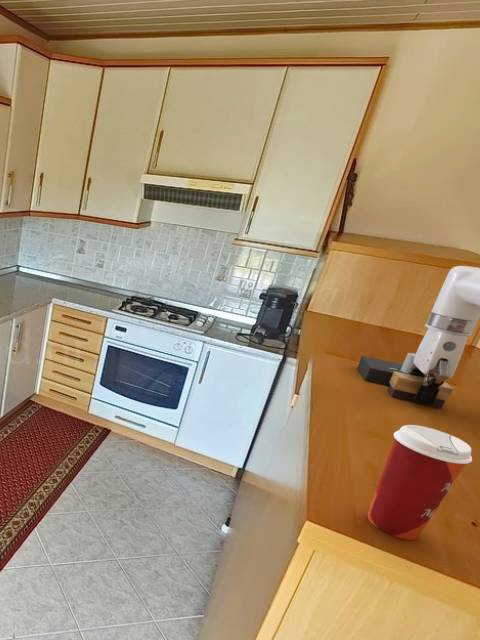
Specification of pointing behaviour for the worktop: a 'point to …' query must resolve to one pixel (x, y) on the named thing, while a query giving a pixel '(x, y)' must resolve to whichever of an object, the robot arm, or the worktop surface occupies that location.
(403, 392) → the brush
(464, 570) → the worktop surface
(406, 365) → the stove knob
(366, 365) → the stove
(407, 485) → the paper cup
